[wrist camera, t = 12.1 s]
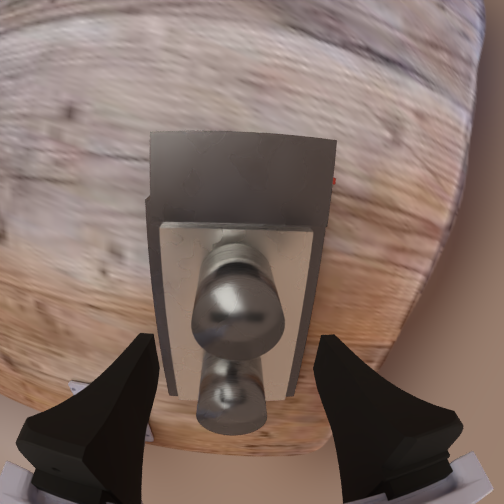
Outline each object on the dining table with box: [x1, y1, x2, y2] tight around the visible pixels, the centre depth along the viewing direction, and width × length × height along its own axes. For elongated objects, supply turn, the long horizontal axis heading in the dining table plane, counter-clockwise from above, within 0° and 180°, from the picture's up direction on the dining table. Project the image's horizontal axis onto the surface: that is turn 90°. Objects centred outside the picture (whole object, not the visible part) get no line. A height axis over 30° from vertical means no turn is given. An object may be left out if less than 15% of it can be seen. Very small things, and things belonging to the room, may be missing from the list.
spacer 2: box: [196, 352, 267, 435], centre depth 19 cm, size 4×4×5 cm
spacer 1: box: [191, 244, 285, 361], centre depth 16 cm, size 4×4×5 cm
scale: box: [145, 131, 337, 401], centre depth 18 cm, size 21×11×6 cm, turn 177°
